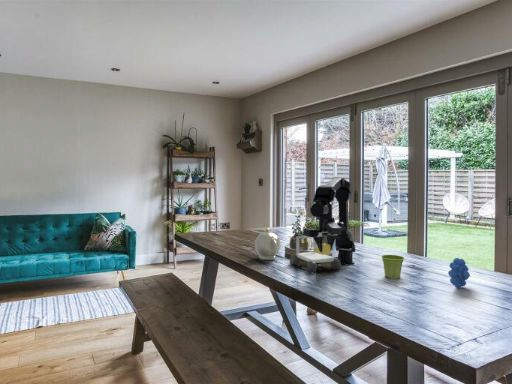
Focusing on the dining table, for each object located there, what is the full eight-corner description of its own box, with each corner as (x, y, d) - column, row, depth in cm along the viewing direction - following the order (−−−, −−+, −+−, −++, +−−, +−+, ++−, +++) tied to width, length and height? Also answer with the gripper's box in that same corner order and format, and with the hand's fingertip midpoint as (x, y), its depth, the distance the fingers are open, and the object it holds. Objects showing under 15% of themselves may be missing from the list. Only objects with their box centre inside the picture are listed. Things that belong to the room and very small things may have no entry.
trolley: (290, 263, 185) (290, 235, 184) (316, 261, 191) (316, 233, 190) (312, 273, 166) (312, 242, 165) (340, 270, 172) (340, 239, 171)
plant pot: (403, 275, 163) (403, 255, 162) (404, 280, 154) (405, 259, 154) (381, 273, 166) (381, 254, 165) (381, 278, 157) (381, 258, 157)
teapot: (250, 257, 201) (250, 227, 200) (273, 255, 206) (272, 225, 205) (264, 264, 184) (263, 231, 184) (288, 261, 190) (288, 229, 189)
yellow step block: (322, 251, 164) (322, 242, 164) (330, 254, 159) (330, 244, 159) (314, 252, 163) (314, 243, 163) (322, 254, 157) (322, 245, 157)
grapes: (461, 293, 136) (461, 261, 136) (443, 289, 142) (444, 258, 141) (477, 288, 142) (478, 257, 142) (460, 284, 148) (460, 254, 148)
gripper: (317, 218, 147) (317, 257, 148) (355, 216, 155) (355, 253, 155) (302, 215, 157) (302, 252, 158) (339, 213, 165) (338, 248, 165)
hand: (325, 251), depth 159 cm, fingers closed on yellow step block, 4 cm apart
